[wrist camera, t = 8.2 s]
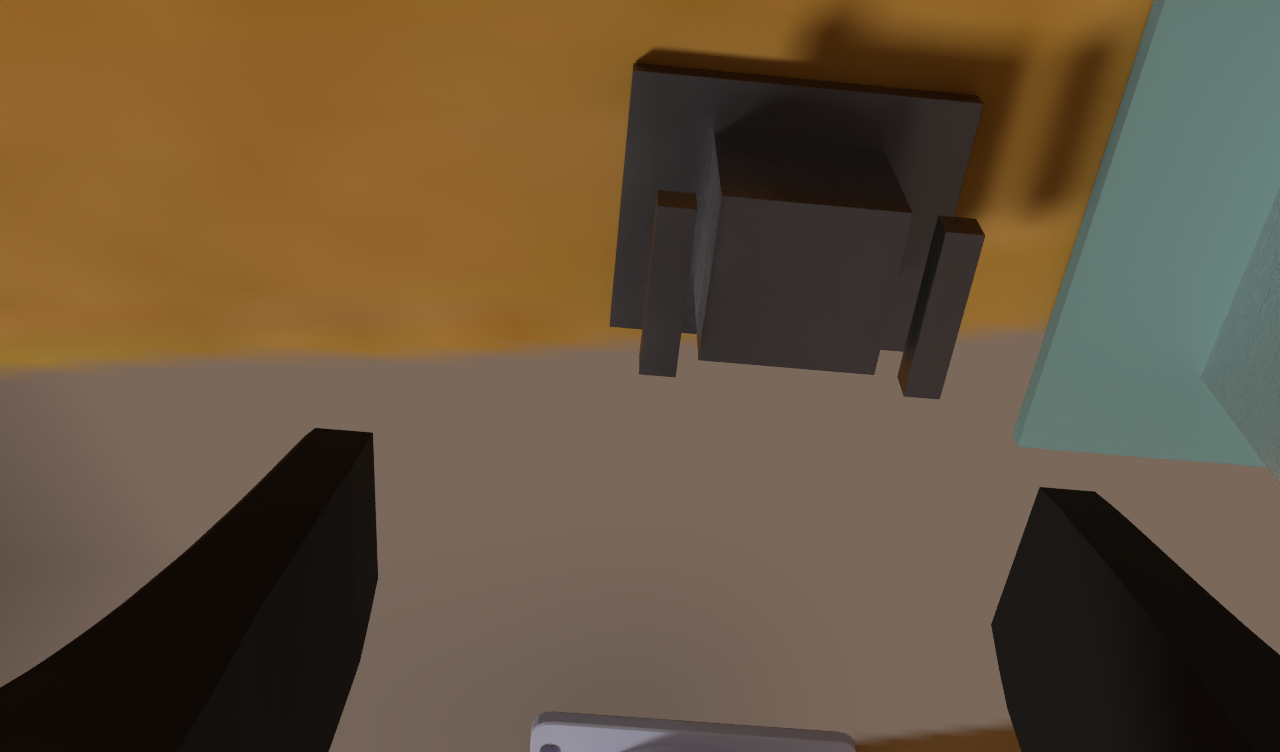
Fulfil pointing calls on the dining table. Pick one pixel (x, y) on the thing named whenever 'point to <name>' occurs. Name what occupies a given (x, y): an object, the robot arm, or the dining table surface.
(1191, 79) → the mat
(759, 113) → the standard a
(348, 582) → the robot arm
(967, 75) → the dining table surface
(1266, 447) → the rail
